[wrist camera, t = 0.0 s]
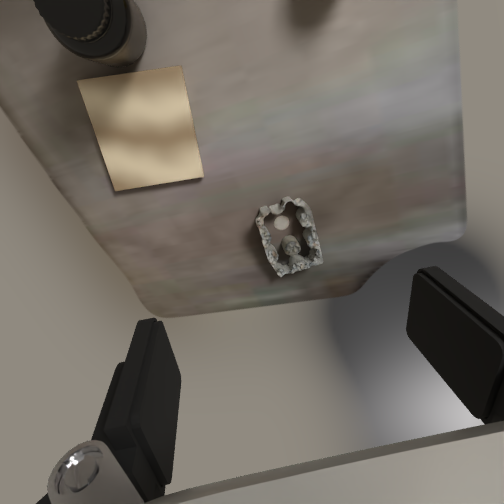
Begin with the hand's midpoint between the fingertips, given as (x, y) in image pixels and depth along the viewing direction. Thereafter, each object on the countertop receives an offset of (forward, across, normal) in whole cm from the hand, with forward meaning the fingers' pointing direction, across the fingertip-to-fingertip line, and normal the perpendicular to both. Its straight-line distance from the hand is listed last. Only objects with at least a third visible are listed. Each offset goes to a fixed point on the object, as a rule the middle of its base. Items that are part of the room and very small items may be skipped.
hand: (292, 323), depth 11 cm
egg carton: (+32, -6, +11) cm, 34 cm away
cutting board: (+31, +10, -5) cm, 33 cm away
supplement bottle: (+31, +10, -15) cm, 36 cm away
